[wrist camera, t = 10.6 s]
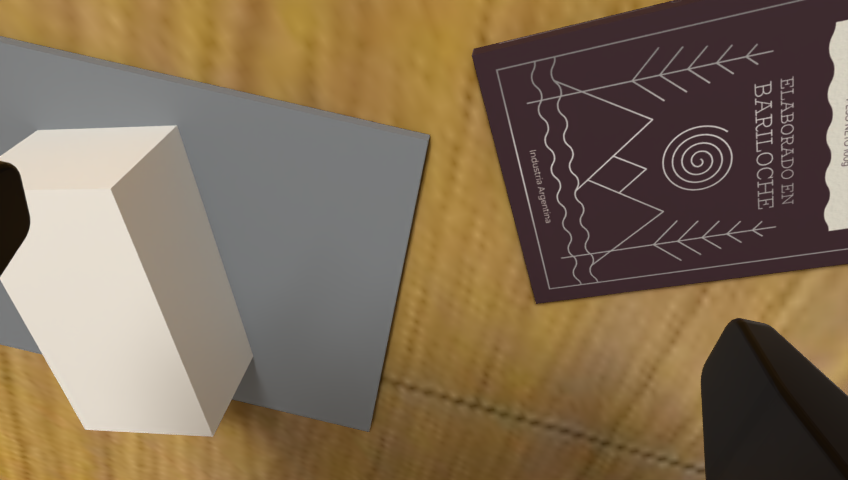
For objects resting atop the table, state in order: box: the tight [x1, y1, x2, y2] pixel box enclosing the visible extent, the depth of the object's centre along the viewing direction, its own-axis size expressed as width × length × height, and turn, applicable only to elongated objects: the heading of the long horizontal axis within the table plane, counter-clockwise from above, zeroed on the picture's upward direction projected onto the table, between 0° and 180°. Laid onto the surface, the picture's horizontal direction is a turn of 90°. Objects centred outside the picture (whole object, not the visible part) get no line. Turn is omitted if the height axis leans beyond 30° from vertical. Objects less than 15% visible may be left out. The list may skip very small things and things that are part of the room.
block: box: [0, 125, 253, 437], centre depth 23 cm, size 10×5×4 cm, turn 6°
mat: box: [0, 36, 430, 432], centre depth 25 cm, size 18×14×1 cm
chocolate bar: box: [472, 0, 848, 304], centre depth 19 cm, size 9×1×18 cm
